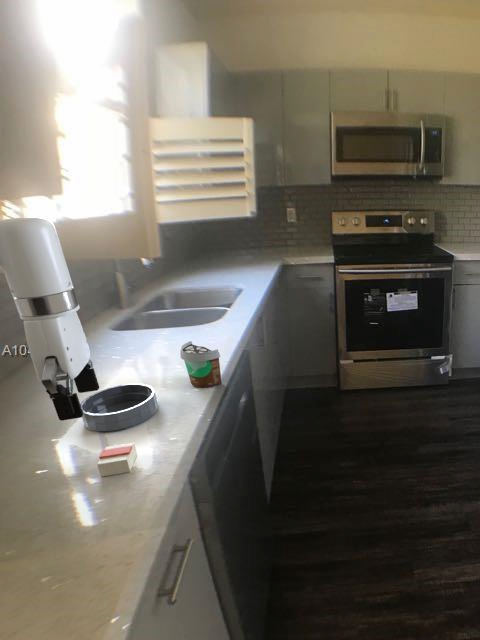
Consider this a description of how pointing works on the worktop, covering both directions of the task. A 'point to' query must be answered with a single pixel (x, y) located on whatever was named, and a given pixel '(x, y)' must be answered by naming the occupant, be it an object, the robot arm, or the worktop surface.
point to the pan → (119, 407)
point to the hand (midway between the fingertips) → (81, 403)
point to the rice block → (117, 459)
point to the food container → (201, 365)
